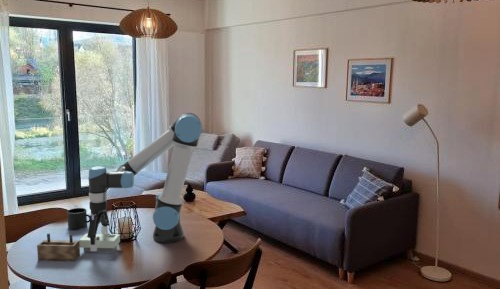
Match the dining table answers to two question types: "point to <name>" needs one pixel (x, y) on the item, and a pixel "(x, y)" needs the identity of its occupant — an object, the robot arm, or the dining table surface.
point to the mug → (77, 218)
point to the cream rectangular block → (101, 241)
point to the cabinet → (58, 250)
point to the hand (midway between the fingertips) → (99, 245)
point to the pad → (102, 250)
